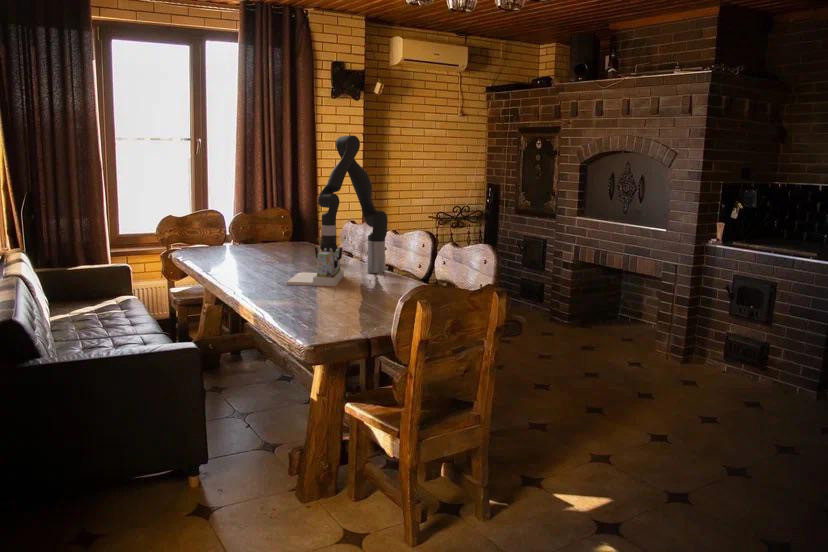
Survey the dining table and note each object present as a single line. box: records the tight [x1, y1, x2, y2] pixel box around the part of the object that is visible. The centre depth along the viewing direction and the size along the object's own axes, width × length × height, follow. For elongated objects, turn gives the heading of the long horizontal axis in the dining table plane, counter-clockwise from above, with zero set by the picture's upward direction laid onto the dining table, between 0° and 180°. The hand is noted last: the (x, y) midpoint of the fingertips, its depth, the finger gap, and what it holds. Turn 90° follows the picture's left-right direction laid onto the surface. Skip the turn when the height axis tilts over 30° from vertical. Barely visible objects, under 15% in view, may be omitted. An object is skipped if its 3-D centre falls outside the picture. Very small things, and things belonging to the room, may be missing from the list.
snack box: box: [316, 249, 341, 278], centre depth 345 cm, size 21×6×15 cm, turn 169°
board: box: [286, 271, 317, 286], centre depth 347 cm, size 12×26×2 cm, turn 176°
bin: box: [312, 268, 345, 287], centre depth 346 cm, size 11×26×4 cm, turn 176°
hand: (328, 267), depth 345 cm, fingers closed on snack box, 6 cm apart
